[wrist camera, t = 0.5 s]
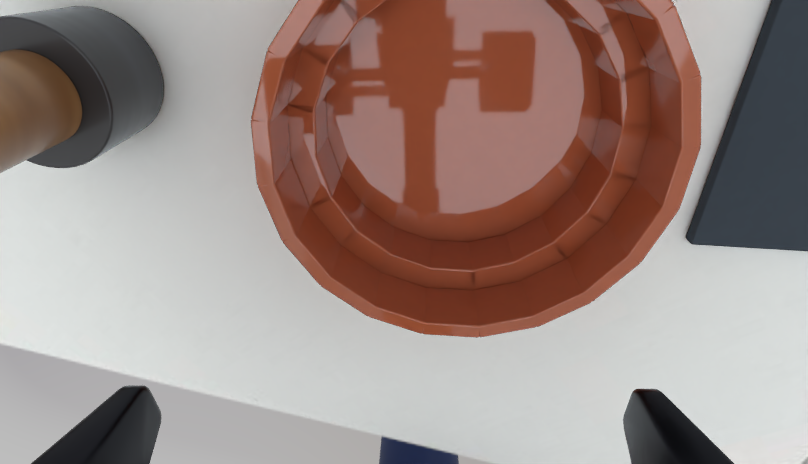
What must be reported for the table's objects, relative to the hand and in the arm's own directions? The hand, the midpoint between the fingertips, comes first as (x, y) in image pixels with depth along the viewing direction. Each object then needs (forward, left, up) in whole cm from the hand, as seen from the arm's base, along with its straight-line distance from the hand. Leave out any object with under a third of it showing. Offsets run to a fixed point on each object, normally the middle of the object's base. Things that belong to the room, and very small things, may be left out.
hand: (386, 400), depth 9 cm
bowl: (+1, -2, -14) cm, 14 cm away
